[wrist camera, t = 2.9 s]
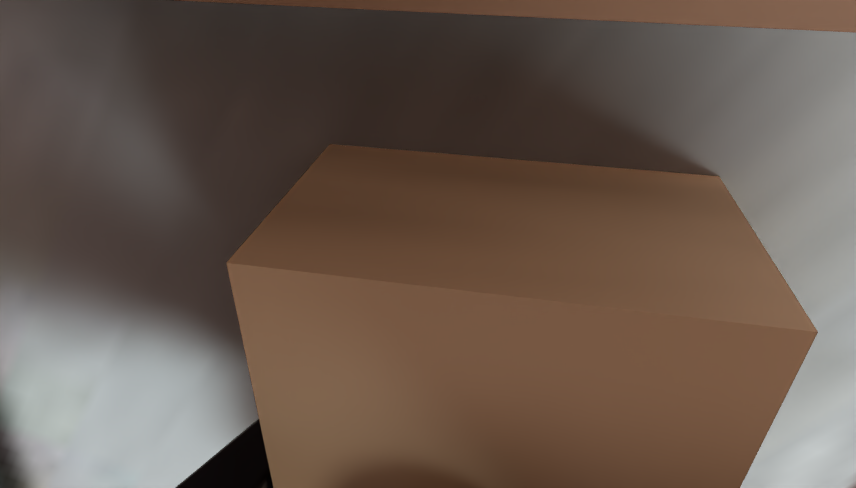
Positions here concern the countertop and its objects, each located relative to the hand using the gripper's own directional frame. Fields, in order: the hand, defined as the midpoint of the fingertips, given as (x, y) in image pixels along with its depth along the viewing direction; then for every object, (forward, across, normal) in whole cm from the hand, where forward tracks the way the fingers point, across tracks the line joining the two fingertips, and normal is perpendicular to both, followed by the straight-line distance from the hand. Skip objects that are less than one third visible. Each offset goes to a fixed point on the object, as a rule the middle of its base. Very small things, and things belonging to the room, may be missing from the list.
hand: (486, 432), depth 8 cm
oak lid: (+1, 0, 0) cm, 1 cm away
